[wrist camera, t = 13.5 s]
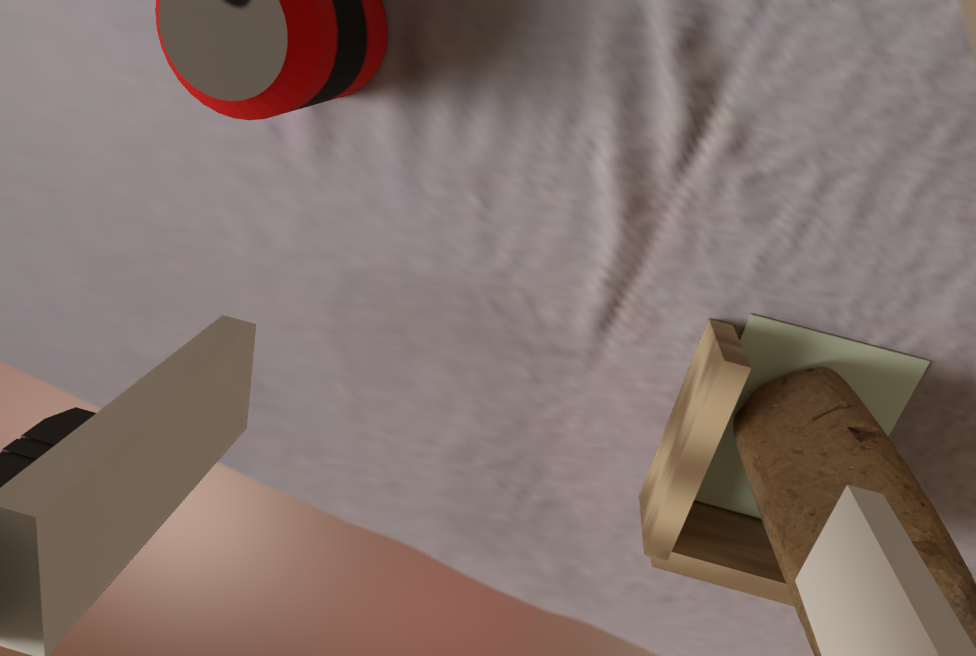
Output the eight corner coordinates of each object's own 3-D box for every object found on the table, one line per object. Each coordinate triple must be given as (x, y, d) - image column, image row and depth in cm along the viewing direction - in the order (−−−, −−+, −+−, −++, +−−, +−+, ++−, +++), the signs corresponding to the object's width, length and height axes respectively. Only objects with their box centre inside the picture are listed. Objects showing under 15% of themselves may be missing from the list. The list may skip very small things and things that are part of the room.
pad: (750, 313, 43) (751, 314, 43) (928, 360, 43) (930, 361, 42) (675, 493, 49) (675, 495, 49) (831, 536, 48) (832, 537, 48)
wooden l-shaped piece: (708, 318, 44) (724, 360, 38) (961, 385, 43) (1014, 437, 38) (635, 504, 50) (640, 563, 44) (856, 564, 49) (888, 632, 44)
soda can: (408, -12, 39) (332, -26, 28) (365, 118, 42) (282, 152, 31) (281, -71, 38) (155, -109, 28) (247, 65, 42) (122, 80, 31)
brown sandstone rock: (713, 389, 45) (790, 636, 27) (832, 343, 43) (1002, 578, 25) (777, 516, 48) (884, 814, 30) (890, 479, 46) (1081, 778, 28)
